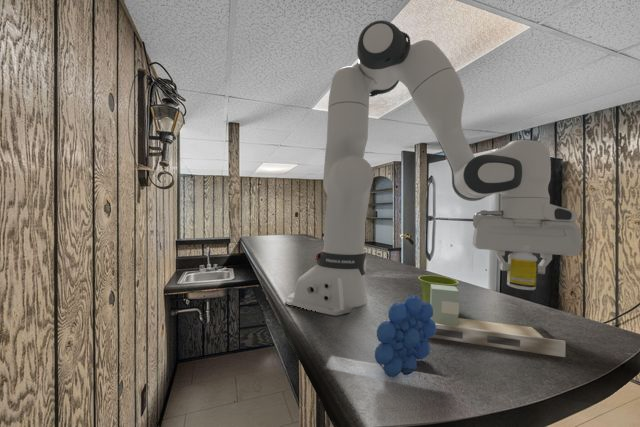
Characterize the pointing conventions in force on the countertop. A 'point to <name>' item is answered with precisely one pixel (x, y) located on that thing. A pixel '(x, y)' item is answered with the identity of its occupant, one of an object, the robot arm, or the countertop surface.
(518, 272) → the supplement bottle
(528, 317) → the countertop surface
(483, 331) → the shelf board
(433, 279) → the plant pot
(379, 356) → the grapes
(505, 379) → the countertop surface
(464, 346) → the countertop surface
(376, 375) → the countertop surface
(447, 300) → the sage tin
